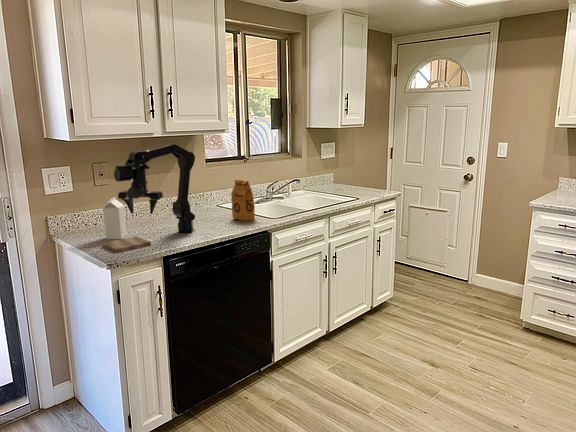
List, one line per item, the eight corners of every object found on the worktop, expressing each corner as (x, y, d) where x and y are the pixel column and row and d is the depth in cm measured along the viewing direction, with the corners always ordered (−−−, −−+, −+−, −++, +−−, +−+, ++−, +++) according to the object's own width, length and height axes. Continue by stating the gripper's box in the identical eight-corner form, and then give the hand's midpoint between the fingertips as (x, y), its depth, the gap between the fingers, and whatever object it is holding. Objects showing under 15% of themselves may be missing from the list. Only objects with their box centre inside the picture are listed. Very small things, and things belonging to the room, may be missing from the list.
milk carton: (126, 235, 210) (122, 196, 206) (121, 239, 203) (117, 199, 199) (111, 235, 210) (107, 197, 206) (106, 239, 203) (101, 199, 199)
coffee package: (243, 223, 233) (241, 182, 228) (230, 219, 242) (228, 180, 237) (257, 220, 239) (256, 180, 234) (244, 216, 248) (243, 178, 243)
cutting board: (136, 239, 203) (136, 236, 203) (151, 245, 194) (150, 241, 193) (102, 246, 192) (101, 243, 192) (115, 252, 183) (115, 249, 182)
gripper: (110, 181, 187) (113, 217, 190) (151, 182, 185) (154, 217, 188) (122, 178, 198) (125, 212, 201) (162, 178, 196) (164, 212, 199)
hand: (141, 213), depth 197 cm, fingers open, 9 cm apart
